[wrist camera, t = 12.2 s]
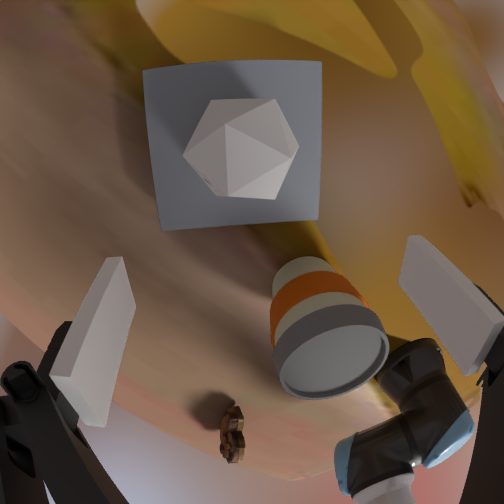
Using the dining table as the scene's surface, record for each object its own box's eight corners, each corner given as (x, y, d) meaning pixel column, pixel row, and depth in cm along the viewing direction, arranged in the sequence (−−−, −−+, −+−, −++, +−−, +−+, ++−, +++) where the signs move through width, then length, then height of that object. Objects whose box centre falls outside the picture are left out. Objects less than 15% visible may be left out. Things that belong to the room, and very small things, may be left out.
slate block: (304, 65, 29) (321, 61, 24) (303, 199, 37) (318, 219, 32) (155, 73, 28) (142, 70, 23) (169, 209, 36) (161, 231, 30)
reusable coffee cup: (250, 315, 44) (264, 402, 31) (270, 237, 38) (297, 319, 25) (329, 320, 47) (361, 397, 34) (358, 250, 41) (411, 323, 28)
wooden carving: (218, 398, 54) (221, 443, 45) (242, 397, 55) (247, 442, 46) (217, 434, 62) (219, 472, 53) (237, 434, 63) (241, 471, 54)
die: (193, 93, 25) (148, 170, 20) (281, 63, 21) (257, 140, 16) (236, 154, 31) (209, 232, 27) (316, 138, 27) (305, 223, 22)
